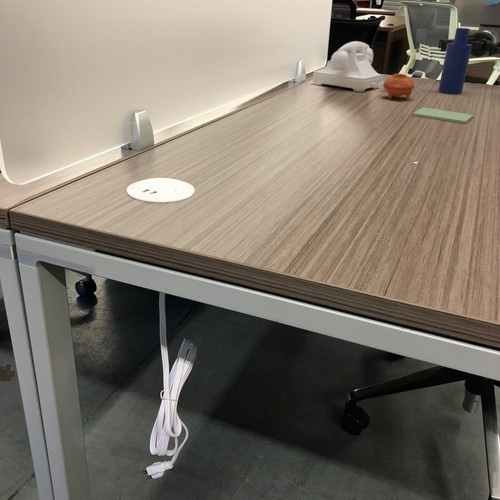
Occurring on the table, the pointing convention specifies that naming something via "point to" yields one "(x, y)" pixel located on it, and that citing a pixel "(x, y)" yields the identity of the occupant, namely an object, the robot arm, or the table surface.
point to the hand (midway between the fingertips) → (466, 48)
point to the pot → (398, 85)
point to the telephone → (350, 68)
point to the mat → (443, 115)
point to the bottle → (455, 63)
